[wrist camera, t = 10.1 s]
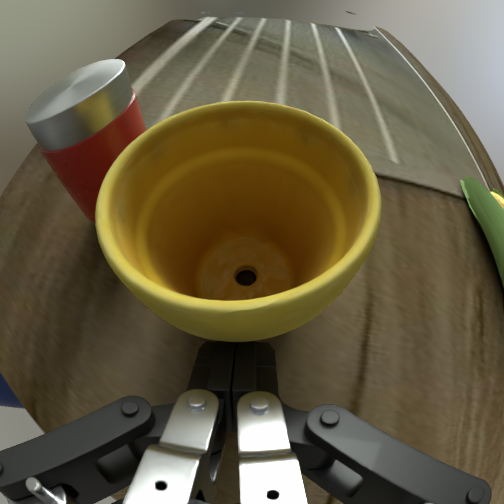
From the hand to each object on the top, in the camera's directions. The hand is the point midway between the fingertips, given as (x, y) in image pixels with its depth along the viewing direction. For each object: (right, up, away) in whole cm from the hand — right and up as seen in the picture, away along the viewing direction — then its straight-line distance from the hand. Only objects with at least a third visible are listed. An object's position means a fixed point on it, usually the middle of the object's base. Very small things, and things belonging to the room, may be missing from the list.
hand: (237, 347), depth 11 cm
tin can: (-9, +8, +10) cm, 16 cm away
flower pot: (0, +2, +7) cm, 7 cm away
